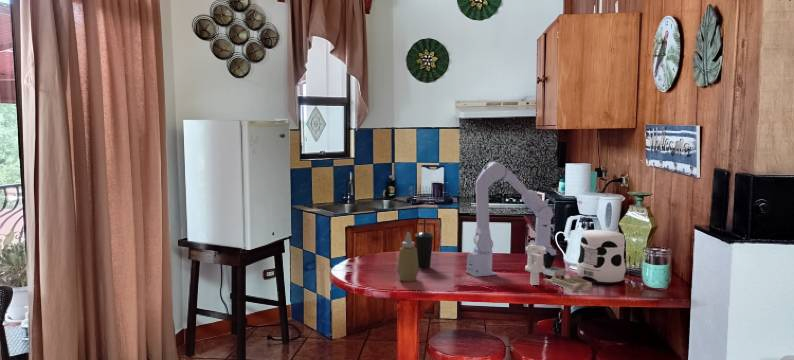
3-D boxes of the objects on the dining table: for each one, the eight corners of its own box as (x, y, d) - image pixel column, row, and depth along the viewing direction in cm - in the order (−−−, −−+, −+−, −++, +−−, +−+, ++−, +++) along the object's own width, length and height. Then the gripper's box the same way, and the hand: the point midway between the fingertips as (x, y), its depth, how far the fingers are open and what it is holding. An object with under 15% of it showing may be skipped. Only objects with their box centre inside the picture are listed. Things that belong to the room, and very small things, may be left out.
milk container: (620, 275, 218) (622, 230, 216) (629, 288, 201) (631, 239, 199) (574, 273, 221) (576, 228, 220) (578, 285, 205) (581, 237, 203)
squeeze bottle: (403, 283, 205) (404, 235, 203) (393, 278, 212) (393, 231, 210) (422, 281, 208) (423, 233, 206) (412, 275, 215) (412, 229, 214)
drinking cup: (411, 268, 226) (412, 219, 224) (418, 264, 233) (418, 216, 231) (429, 270, 223) (430, 221, 221) (435, 266, 230) (436, 218, 228)
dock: (571, 294, 197) (571, 285, 196) (541, 281, 212) (541, 272, 212) (591, 291, 200) (592, 282, 200) (560, 278, 216) (561, 270, 215)
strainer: (520, 283, 207) (521, 243, 205) (534, 280, 210) (536, 241, 208) (533, 288, 201) (535, 247, 199) (548, 285, 204) (550, 245, 202)
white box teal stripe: (554, 280, 208) (554, 270, 208) (543, 277, 215) (542, 267, 215) (565, 278, 210) (565, 269, 210) (553, 275, 217) (553, 266, 216)
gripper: (563, 238, 213) (561, 272, 214) (540, 231, 226) (538, 263, 228) (547, 239, 210) (546, 274, 212) (525, 232, 224) (524, 265, 225)
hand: (541, 269), depth 220 cm, fingers open, 7 cm apart
